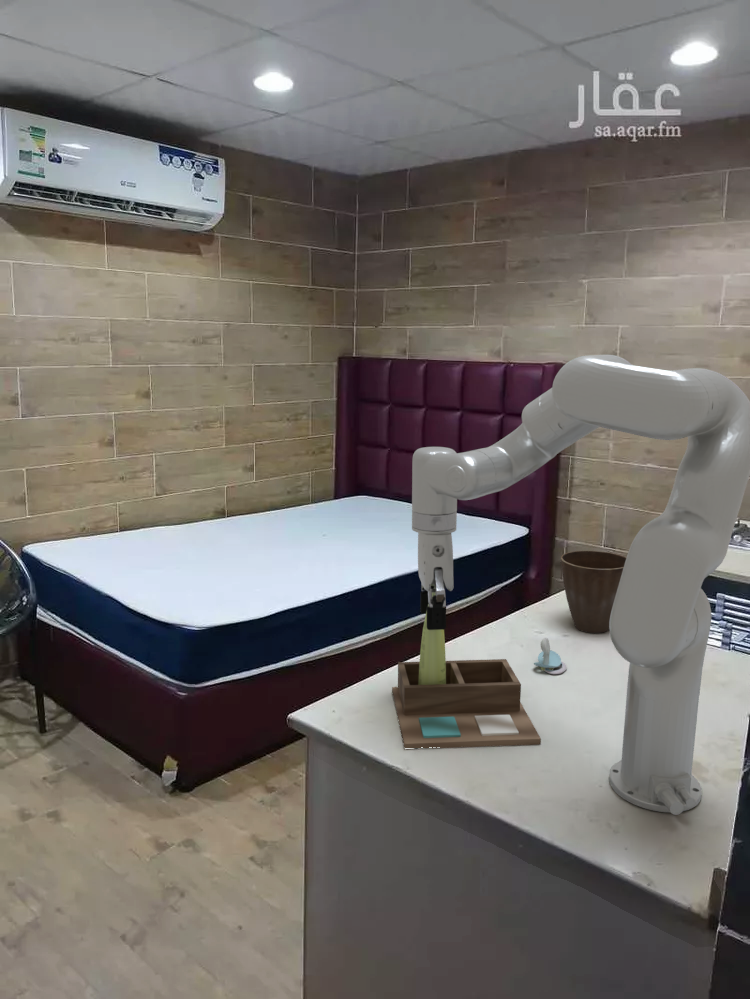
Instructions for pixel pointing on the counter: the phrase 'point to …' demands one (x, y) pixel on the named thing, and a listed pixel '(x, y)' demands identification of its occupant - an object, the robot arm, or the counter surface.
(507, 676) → the brown wooden desk organizer
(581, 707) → the counter surface
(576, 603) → the plant pot
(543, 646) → the pacifier
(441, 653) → the tube
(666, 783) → the robot arm
